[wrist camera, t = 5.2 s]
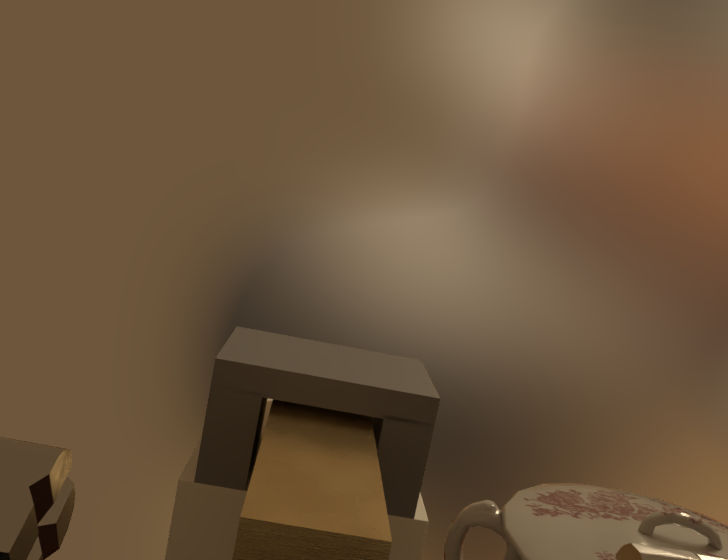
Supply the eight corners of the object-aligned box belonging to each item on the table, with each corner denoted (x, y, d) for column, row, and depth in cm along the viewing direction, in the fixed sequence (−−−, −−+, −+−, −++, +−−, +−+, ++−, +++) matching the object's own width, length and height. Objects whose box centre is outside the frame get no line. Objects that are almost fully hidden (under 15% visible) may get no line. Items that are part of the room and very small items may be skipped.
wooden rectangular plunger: (365, 662, 19) (391, 541, 18) (217, 640, 18) (240, 516, 18) (348, 410, 39) (360, 351, 39) (278, 398, 39) (289, 338, 39)
